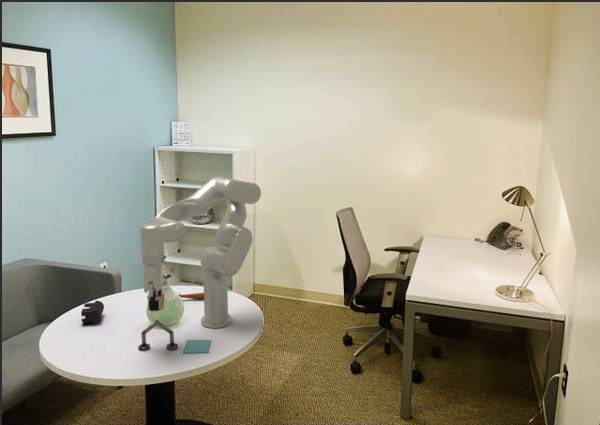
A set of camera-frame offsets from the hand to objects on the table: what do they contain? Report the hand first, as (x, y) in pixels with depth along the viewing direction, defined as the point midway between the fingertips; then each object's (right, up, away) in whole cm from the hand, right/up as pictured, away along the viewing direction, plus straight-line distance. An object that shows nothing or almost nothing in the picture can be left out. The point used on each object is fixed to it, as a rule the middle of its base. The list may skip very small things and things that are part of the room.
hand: (156, 306), depth 170 cm
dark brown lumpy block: (-33, -11, +25) cm, 42 cm away
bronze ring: (0, -1, 0) cm, 1 cm away
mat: (+14, -16, +4) cm, 21 cm away
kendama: (-2, -7, +46) cm, 46 cm away
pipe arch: (0, -16, +3) cm, 16 cm away
